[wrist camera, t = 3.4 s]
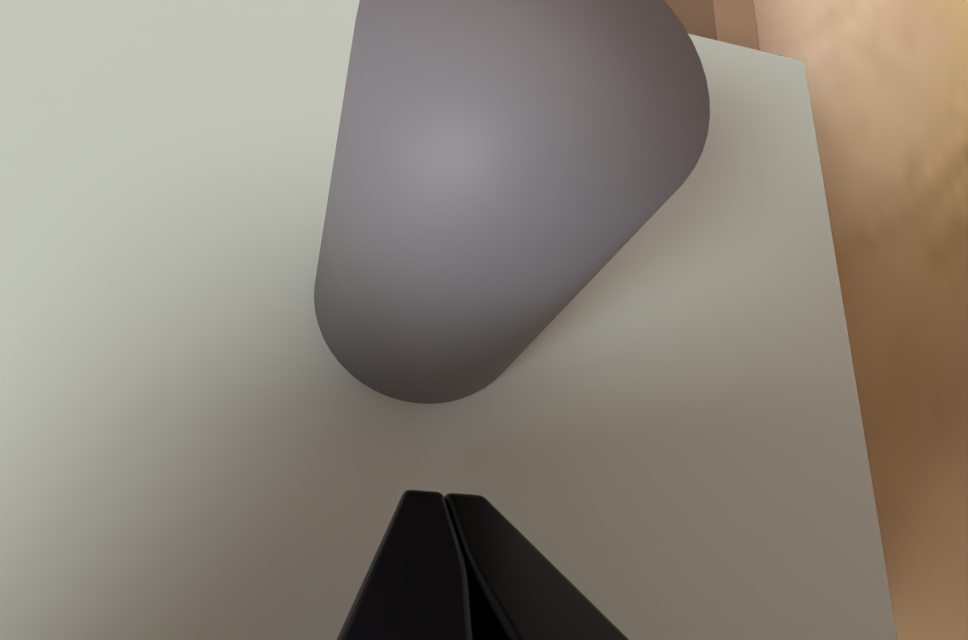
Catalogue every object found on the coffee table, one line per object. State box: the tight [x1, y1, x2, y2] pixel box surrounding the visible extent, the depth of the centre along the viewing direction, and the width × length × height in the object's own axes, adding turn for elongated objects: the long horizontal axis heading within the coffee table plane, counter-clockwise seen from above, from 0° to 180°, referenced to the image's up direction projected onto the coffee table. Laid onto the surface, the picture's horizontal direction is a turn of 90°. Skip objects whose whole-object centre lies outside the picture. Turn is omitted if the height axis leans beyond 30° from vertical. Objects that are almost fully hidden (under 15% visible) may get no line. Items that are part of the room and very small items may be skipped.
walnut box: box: [664, 0, 760, 51], centre depth 16 cm, size 14×14×4 cm
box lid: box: [0, 0, 898, 640], centre depth 8 cm, size 14×14×6 cm
